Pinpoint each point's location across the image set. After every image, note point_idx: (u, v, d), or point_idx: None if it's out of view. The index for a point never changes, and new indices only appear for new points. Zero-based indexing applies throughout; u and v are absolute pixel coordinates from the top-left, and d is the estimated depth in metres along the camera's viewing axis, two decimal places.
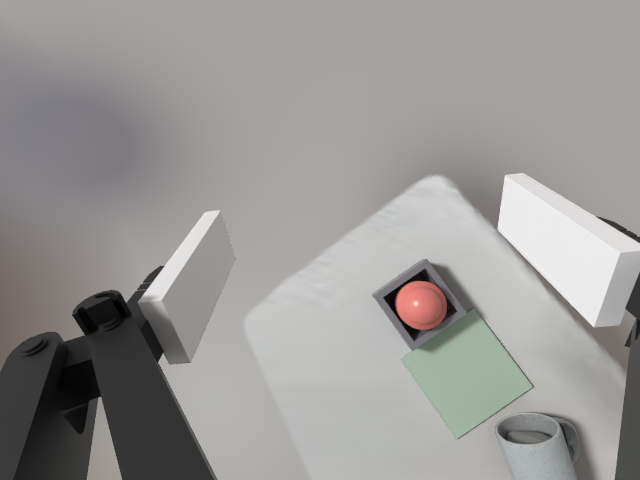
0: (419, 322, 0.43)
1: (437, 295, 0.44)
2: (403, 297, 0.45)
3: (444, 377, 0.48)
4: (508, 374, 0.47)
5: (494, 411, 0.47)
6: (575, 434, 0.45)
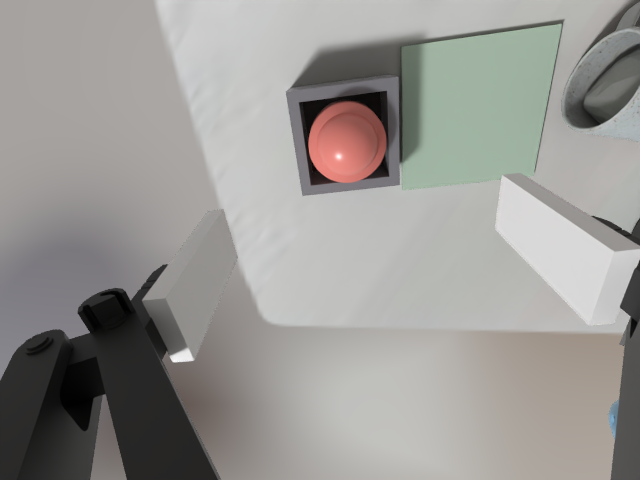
0: (366, 166, 0.27)
1: (344, 117, 0.26)
2: (322, 164, 0.28)
3: (458, 148, 0.32)
4: (519, 52, 0.28)
5: (544, 106, 0.30)
6: None
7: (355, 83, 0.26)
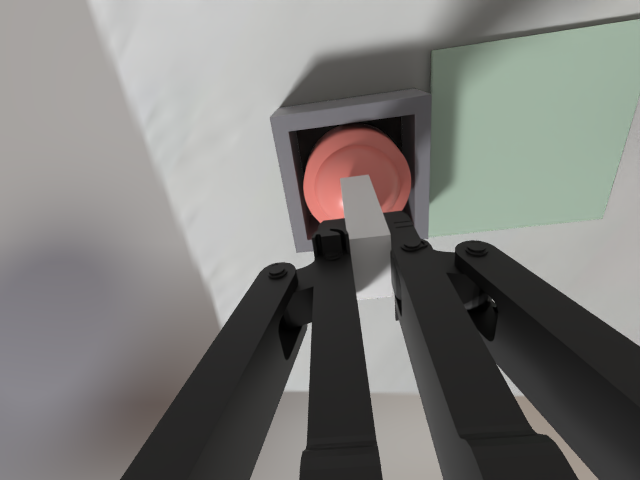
0: None
1: (353, 152, 0.18)
2: (323, 212, 0.21)
3: (505, 185, 0.24)
4: (598, 57, 0.20)
5: (626, 130, 0.22)
6: None
7: (369, 104, 0.18)
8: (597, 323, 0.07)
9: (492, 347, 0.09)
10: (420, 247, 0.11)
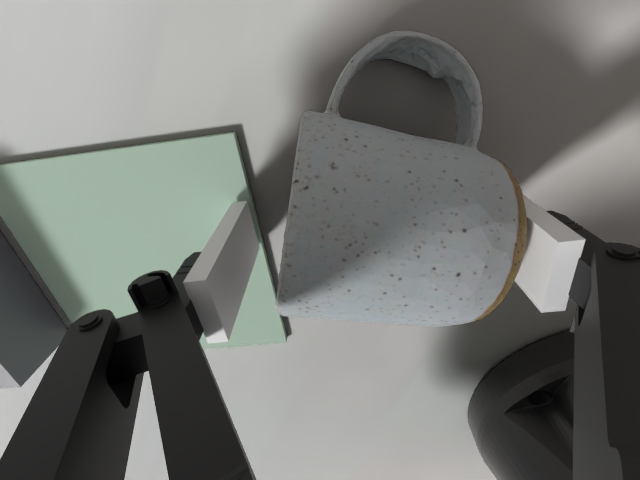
0: None
1: None
2: None
3: None
4: (179, 178, 0.16)
5: (260, 255, 0.18)
6: (420, 40, 0.12)
7: None
8: None
9: None
10: (636, 258, 0.09)
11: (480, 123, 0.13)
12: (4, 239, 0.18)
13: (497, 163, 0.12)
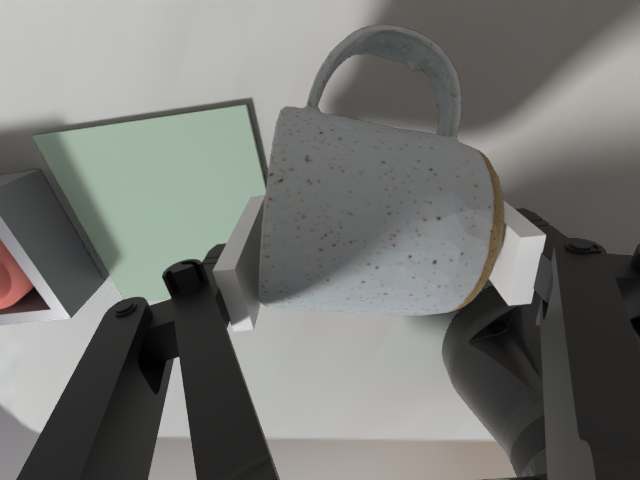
0: None
1: None
2: None
3: (174, 257, 0.24)
4: (201, 142, 0.20)
5: None
6: (397, 34, 0.12)
7: None
8: None
9: None
10: (591, 251, 0.09)
11: (459, 113, 0.13)
12: (55, 197, 0.22)
13: (474, 152, 0.12)
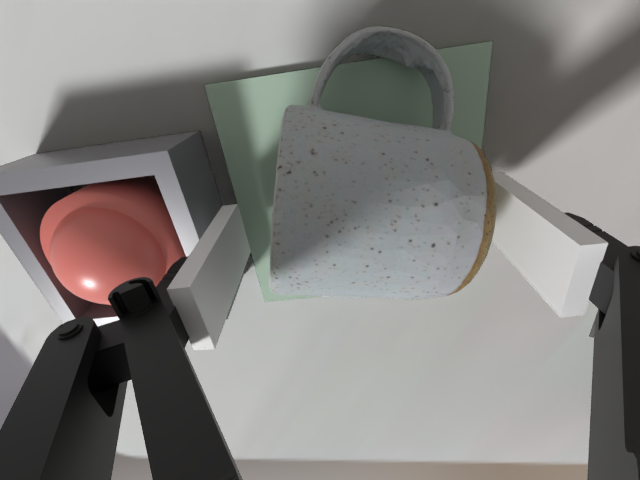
0: None
1: (79, 218, 0.14)
2: None
3: None
4: (420, 93, 0.16)
5: None
6: (392, 34, 0.13)
7: (88, 163, 0.14)
8: None
9: None
10: None
11: (452, 108, 0.14)
12: (210, 167, 0.18)
13: (467, 143, 0.12)
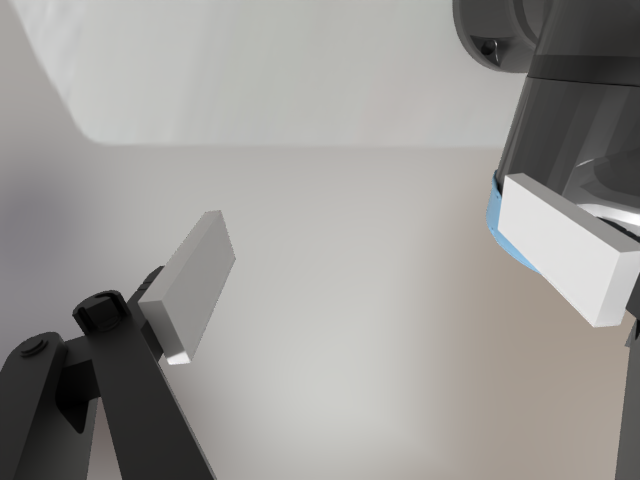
0: None
1: None
2: None
3: None
4: None
5: None
6: None
7: None
8: None
9: None
10: None
11: None
12: None
13: None
